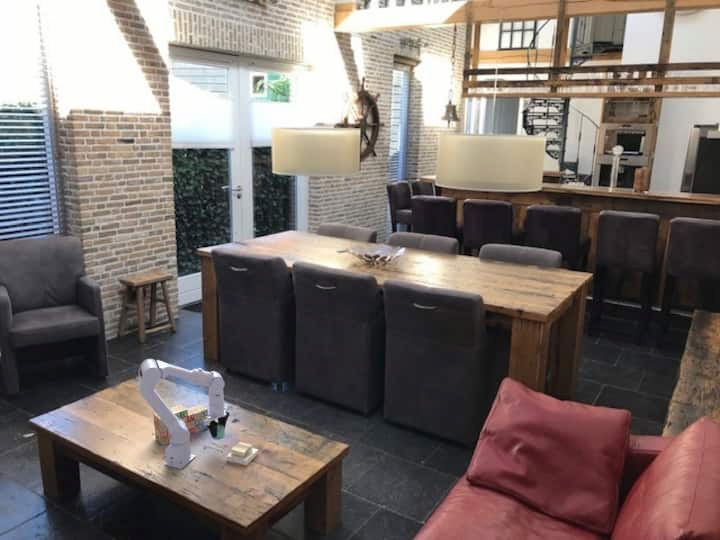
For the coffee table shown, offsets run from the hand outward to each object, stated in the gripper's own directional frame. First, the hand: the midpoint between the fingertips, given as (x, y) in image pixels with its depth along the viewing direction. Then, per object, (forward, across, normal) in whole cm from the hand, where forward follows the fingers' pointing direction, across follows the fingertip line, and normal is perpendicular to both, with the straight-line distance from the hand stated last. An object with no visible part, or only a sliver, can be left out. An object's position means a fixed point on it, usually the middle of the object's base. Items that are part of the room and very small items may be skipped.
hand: (218, 433), depth 240 cm
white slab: (+9, 0, -11) cm, 14 cm away
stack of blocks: (+8, +6, +22) cm, 24 cm away
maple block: (+6, 0, -11) cm, 13 cm away
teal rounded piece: (+2, 0, 0) cm, 2 cm away
